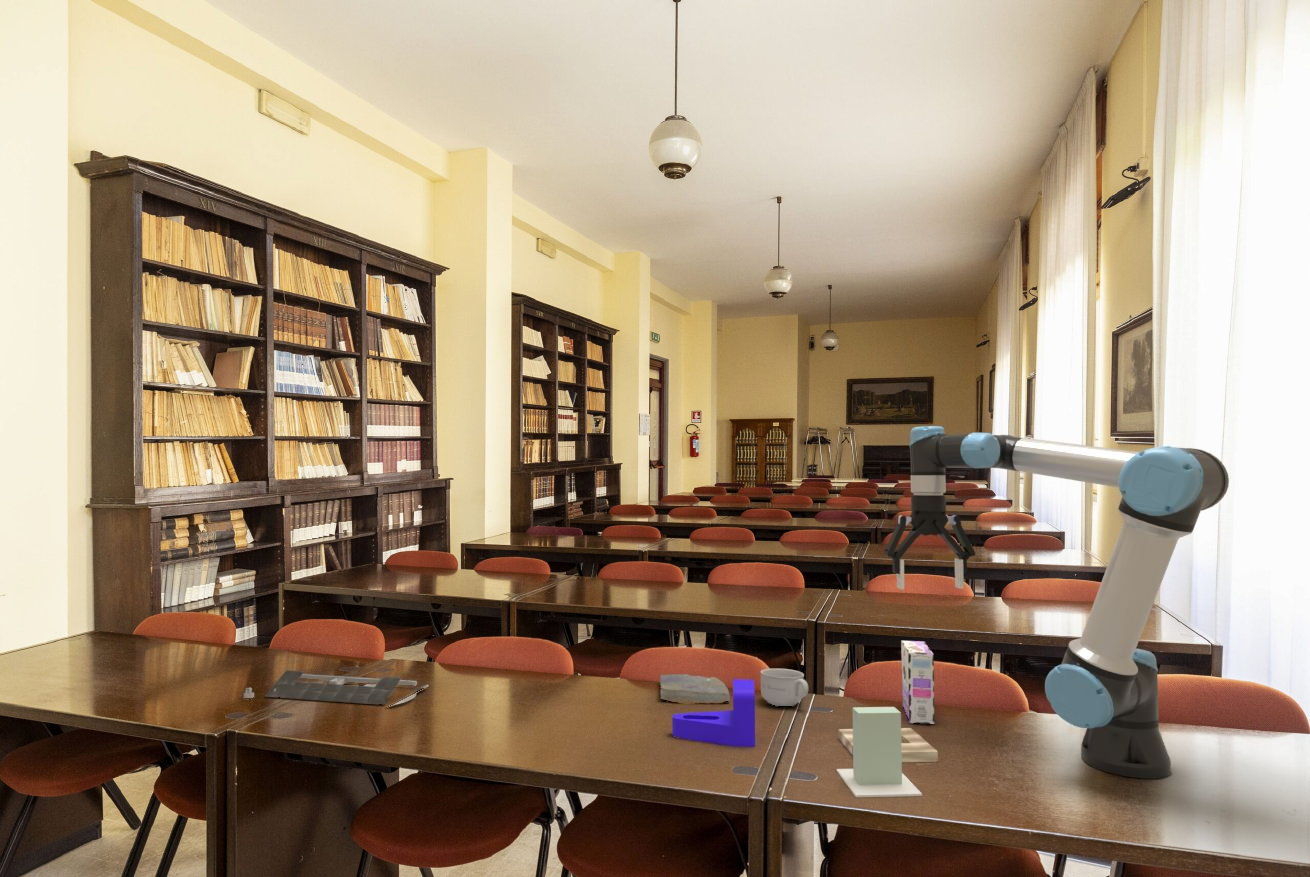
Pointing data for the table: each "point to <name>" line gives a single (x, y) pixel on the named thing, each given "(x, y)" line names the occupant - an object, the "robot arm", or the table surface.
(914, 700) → the candy box
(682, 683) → the fossil
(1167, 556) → the robot arm
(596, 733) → the table surface
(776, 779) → the table surface
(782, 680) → the teacup
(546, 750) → the table surface
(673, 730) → the bracket
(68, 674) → the table surface
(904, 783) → the white square tile
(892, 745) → the tall mint prism
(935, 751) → the wooden square base
